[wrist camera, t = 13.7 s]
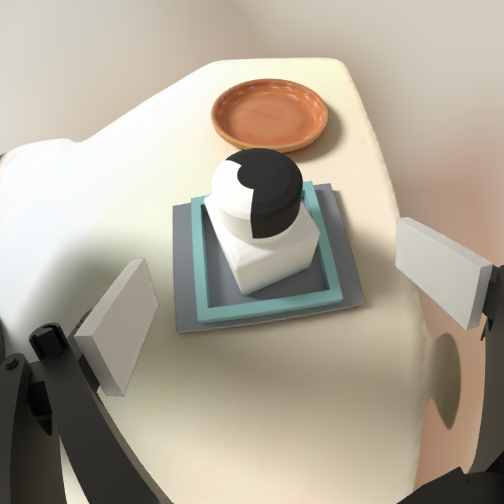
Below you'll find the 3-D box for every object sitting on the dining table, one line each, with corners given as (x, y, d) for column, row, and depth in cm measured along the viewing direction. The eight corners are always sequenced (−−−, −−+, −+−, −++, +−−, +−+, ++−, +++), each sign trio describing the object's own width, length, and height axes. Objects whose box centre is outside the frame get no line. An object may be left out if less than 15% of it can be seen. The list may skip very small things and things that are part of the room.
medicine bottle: (279, 210, 31) (281, 125, 20) (311, 267, 28) (333, 196, 17) (216, 236, 30) (188, 157, 19) (243, 297, 28) (224, 240, 17)
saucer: (330, 100, 41) (332, 86, 38) (319, 174, 35) (322, 158, 32) (233, 88, 43) (231, 74, 41) (197, 155, 37) (192, 139, 35)
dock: (180, 333, 28) (171, 328, 25) (175, 211, 33) (168, 198, 31) (361, 305, 28) (369, 298, 25) (328, 189, 33) (332, 175, 31)
